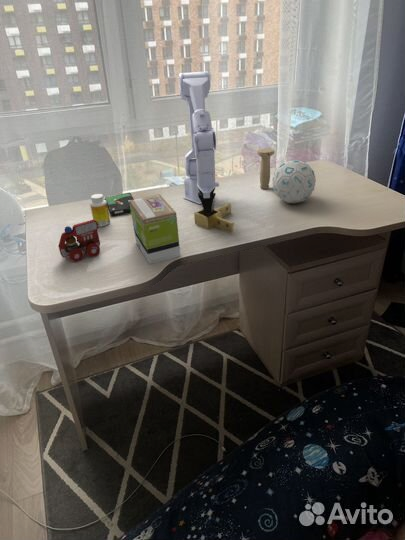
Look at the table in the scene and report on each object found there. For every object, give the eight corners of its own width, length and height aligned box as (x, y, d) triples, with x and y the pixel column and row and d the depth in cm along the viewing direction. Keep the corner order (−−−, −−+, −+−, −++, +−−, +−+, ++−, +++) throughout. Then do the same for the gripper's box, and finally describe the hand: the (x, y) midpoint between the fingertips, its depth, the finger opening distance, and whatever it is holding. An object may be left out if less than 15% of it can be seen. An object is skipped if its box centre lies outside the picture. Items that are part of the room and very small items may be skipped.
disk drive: (139, 213, 150) (130, 198, 161) (138, 206, 148) (129, 191, 160) (111, 218, 147) (104, 203, 159) (110, 211, 145) (103, 196, 157)
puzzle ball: (310, 211, 142) (315, 169, 134) (267, 207, 147) (269, 166, 139) (315, 195, 154) (319, 155, 146) (275, 192, 159) (277, 153, 151)
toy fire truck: (59, 256, 124) (51, 225, 119) (98, 244, 129) (92, 214, 124) (65, 266, 119) (56, 234, 114) (106, 253, 124) (99, 222, 119)
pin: (201, 217, 137) (200, 197, 133) (208, 213, 140) (207, 193, 136) (210, 219, 135) (209, 200, 131) (217, 215, 138) (216, 196, 134)
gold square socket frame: (194, 223, 139) (194, 212, 136) (223, 210, 147) (223, 199, 145) (226, 236, 130) (225, 225, 128) (255, 221, 138) (255, 210, 136)
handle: (274, 189, 162) (276, 151, 154) (259, 191, 160) (260, 153, 152) (269, 184, 166) (271, 147, 157) (254, 187, 164) (255, 149, 156)
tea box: (134, 243, 129) (128, 199, 121) (165, 235, 132) (160, 192, 124) (148, 265, 117) (142, 218, 109) (181, 257, 120) (177, 210, 112)
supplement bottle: (112, 224, 141) (107, 196, 135) (96, 228, 139) (90, 200, 133) (108, 218, 145) (102, 191, 140) (92, 222, 143) (86, 194, 138)
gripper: (219, 177, 122) (220, 219, 130) (218, 162, 135) (219, 201, 142) (195, 178, 123) (198, 220, 130) (196, 163, 135) (198, 201, 142)
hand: (207, 210), depth 136 cm, fingers closed on pin, 3 cm apart
